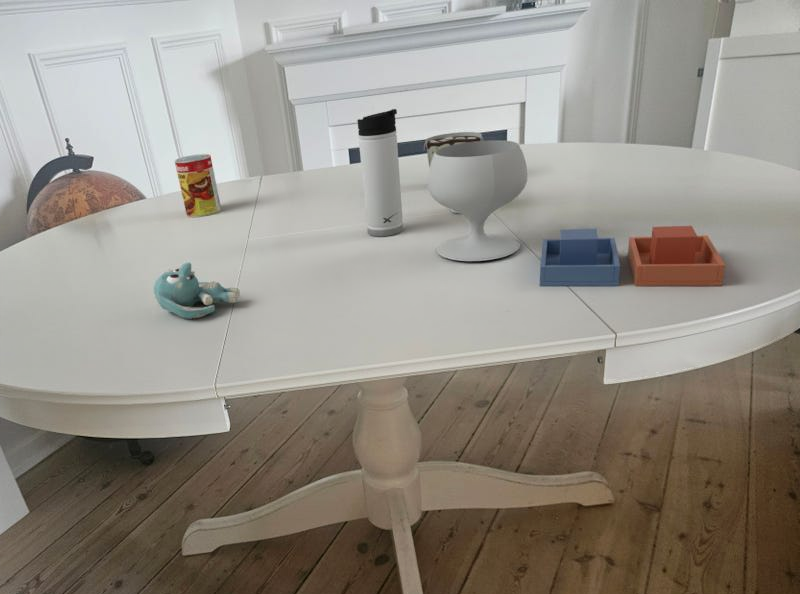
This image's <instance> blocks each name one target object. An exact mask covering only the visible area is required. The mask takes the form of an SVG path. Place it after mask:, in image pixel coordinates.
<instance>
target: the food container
mask: <svg viewBox="0 0 800 594" xmlns="http://www.w3.org/2000/svg"><path fill="white" fill-rule="evenodd" d="M475 141H485V140H484V137H483V135H482V133H481V132H476V131H458V132H449V133H441V134H438V135H437V134H436V135H433V136H431V137H427V138H426V139H425V142H424V144H423V151H426V153H427V161H428V167H429V168H430V165H431V161H432V158H433V156H434V154H435V152H436V151H437V150H439V149H441V148H444V147H447V146H451V145H455V144H460V143H467V142H475Z"/></svg>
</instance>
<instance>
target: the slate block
mask: <svg viewBox="0 0 800 594" xmlns="http://www.w3.org/2000/svg"><path fill="white" fill-rule="evenodd" d="M598 238H599V236H598V229H597V228H574V229H573V228H570V229H568V228H566V229H560V237H559V239H560V258H559V265H596V260H597V247H598Z"/></svg>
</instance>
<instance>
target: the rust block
mask: <svg viewBox="0 0 800 594" xmlns="http://www.w3.org/2000/svg"><path fill="white" fill-rule="evenodd" d="M698 236H699V235H698V234H697V233H696V230H695V229H694V227H693V226H692V225H669V226H668V225H667V226H652V230H651V236H650V237H651V246H650V254H649V261H650V264H694V258H695V252H696V245H697V238H698Z"/></svg>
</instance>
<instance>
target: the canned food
mask: <svg viewBox="0 0 800 594" xmlns="http://www.w3.org/2000/svg"><path fill="white" fill-rule="evenodd" d="M174 165H175V169H176V174H177V178H178V182H179V187H180V191H181V195H182V200H183V204H184V208H185V209H184V210H185V213H186V216H187V217H189V218H201V217H206V216H212V215H215V214H218V213H219V212H221V211H222V205H221V202H220V196H219V191H218V190H219V189H218V186H217V180H216V176H215V171H214V166H213V161H212V156H211V154H209V153H201V154H199V153H198V154H192V155H186V156H182V157H179V158H176V159H175V160H174Z"/></svg>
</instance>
